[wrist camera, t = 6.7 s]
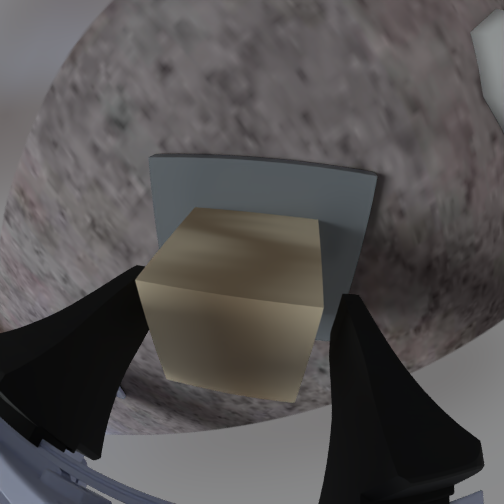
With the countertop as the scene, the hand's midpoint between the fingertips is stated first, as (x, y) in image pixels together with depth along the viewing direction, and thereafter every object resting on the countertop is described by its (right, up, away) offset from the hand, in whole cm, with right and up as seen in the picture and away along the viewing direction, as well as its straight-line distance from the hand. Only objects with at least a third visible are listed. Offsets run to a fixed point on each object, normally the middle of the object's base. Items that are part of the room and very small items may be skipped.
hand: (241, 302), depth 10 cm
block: (0, +1, +2) cm, 3 cm away
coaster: (+1, +2, +3) cm, 3 cm away
